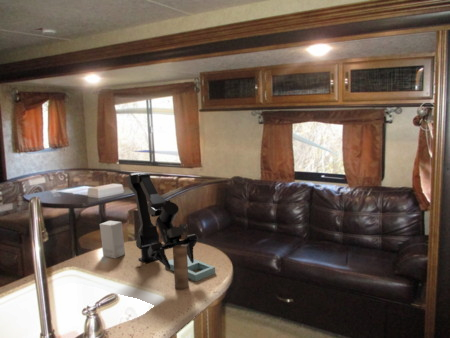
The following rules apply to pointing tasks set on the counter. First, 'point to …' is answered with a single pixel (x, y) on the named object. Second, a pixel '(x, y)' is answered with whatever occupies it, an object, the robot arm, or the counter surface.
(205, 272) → the socket stand
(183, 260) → the pepper mill
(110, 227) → the skincare box
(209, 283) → the counter surface
